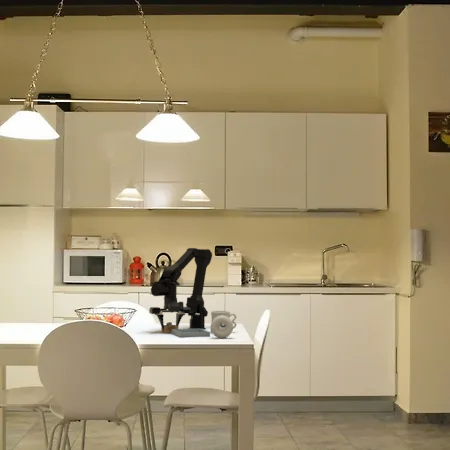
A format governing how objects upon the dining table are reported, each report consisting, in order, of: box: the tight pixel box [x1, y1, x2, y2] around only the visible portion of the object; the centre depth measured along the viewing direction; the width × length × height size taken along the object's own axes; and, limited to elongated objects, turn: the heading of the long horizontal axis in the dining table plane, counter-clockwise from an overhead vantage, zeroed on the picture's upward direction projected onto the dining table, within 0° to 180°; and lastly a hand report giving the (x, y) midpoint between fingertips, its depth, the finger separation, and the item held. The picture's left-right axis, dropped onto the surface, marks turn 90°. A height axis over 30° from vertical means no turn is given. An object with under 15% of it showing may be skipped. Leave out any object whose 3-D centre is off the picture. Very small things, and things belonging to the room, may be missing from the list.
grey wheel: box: [210, 315, 234, 339], centre depth 294 cm, size 10×4×10 cm, turn 87°
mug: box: [210, 310, 237, 333], centre depth 314 cm, size 12×9×10 cm
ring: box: [160, 322, 179, 334], centre depth 313 cm, size 6×6×4 cm
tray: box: [170, 328, 211, 338], centre depth 303 cm, size 14×14×2 cm
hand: (169, 328), depth 313 cm, fingers closed on ring, 6 cm apart
